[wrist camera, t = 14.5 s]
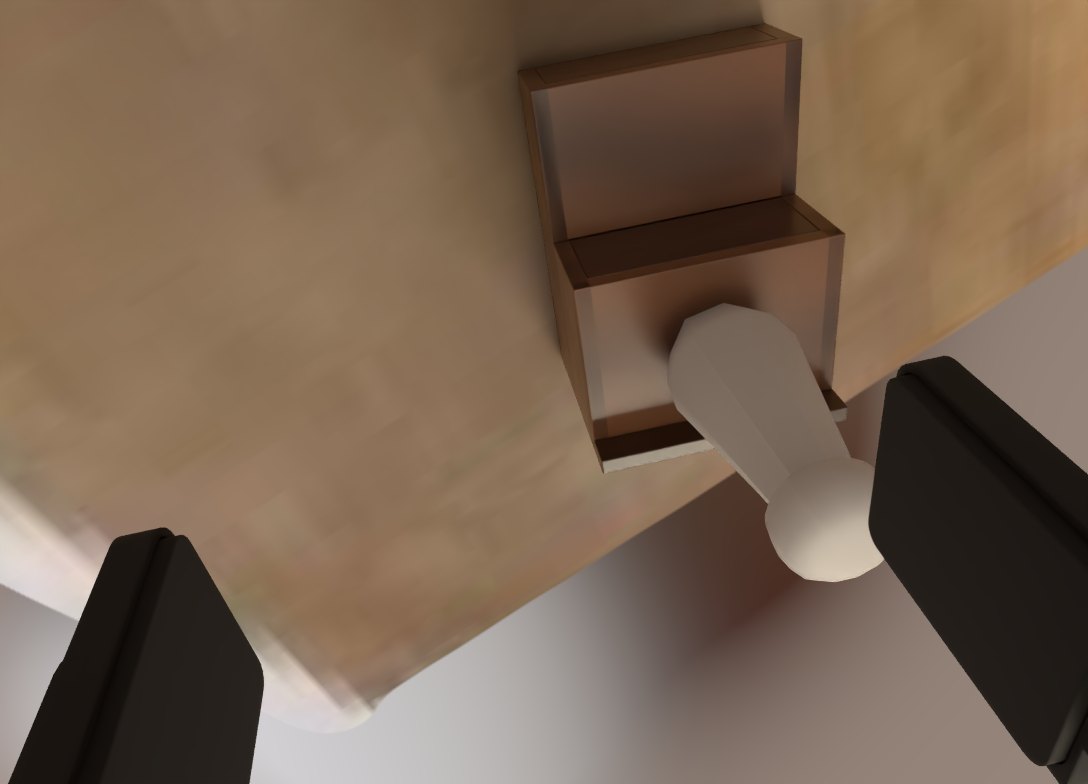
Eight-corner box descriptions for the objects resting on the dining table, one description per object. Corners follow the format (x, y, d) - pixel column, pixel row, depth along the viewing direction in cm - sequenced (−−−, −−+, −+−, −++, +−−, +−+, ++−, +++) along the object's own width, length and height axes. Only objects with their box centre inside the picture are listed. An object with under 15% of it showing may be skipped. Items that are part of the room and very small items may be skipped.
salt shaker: (778, 274, 34) (955, 460, 23) (775, 380, 37) (930, 587, 26) (648, 302, 34) (767, 504, 23) (657, 407, 37) (765, 626, 26)
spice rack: (517, 70, 36) (558, 135, 27) (766, 23, 37) (883, 71, 28) (561, 358, 45) (603, 474, 36) (759, 315, 46) (846, 420, 37)
